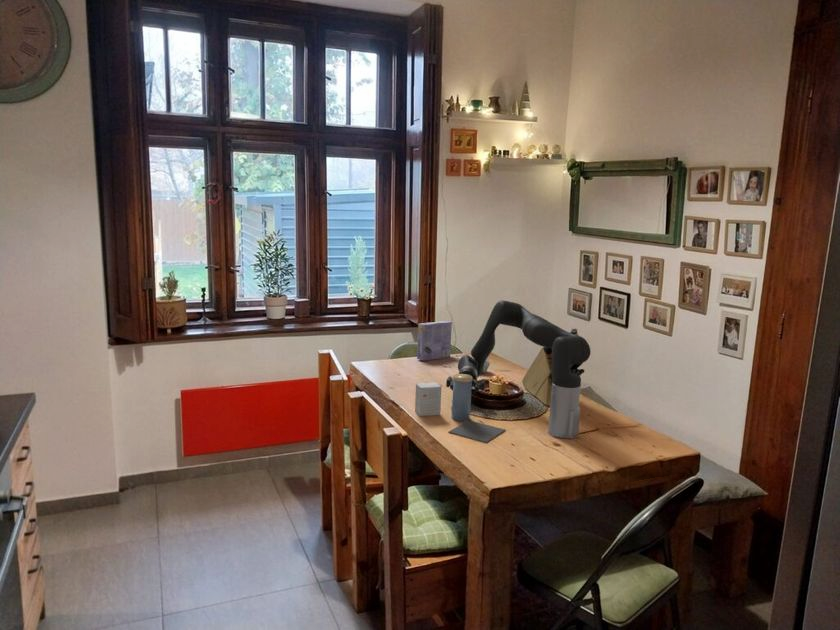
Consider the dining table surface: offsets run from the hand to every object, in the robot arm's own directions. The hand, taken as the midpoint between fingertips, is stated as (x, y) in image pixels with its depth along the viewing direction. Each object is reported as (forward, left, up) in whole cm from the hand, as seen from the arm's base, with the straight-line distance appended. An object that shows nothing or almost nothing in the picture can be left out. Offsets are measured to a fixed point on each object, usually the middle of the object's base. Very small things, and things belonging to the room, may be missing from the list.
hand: (464, 388), depth 230 cm
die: (+20, -50, -8) cm, 55 cm away
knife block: (-20, -33, -8) cm, 40 cm away
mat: (-15, +17, -8) cm, 24 cm away
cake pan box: (+49, -58, -8) cm, 76 cm away
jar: (-4, +9, -8) cm, 12 cm away
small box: (+8, +12, -8) cm, 16 cm away
